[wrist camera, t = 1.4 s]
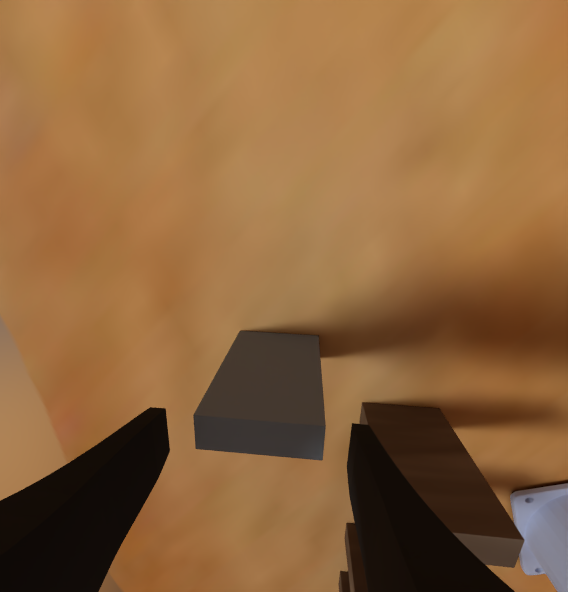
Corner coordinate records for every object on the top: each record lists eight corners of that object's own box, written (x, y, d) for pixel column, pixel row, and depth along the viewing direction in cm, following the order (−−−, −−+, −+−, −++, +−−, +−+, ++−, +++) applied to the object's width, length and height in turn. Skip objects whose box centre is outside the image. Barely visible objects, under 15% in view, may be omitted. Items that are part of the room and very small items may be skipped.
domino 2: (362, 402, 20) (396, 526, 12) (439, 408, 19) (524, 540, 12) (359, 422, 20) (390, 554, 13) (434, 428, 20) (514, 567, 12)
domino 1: (240, 330, 19) (193, 414, 11) (318, 335, 19) (325, 426, 11) (240, 353, 19) (195, 449, 12) (316, 358, 19) (322, 460, 11)
